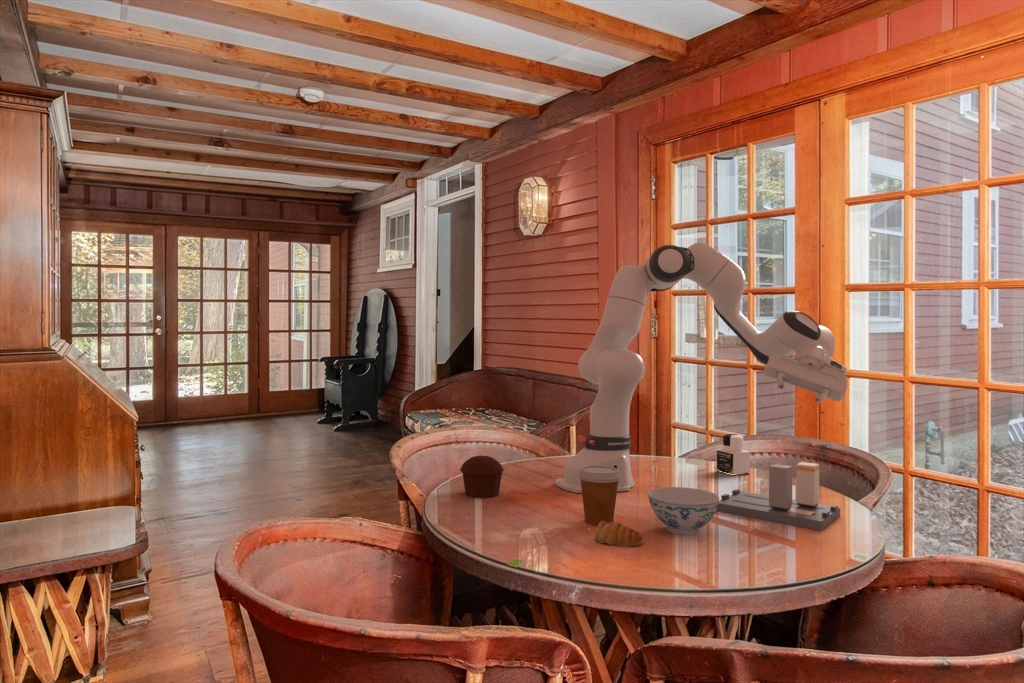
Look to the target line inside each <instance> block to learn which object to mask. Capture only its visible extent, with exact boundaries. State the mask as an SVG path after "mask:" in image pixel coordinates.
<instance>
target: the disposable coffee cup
mask: <svg viewBox="0 0 1024 683" xmlns="http://www.w3.org/2000/svg"><path fill="white" fill-rule="evenodd" d="M578 475H579V476H580V479H581V488H582V493H581V495H582V496H581V498H582V505H583V513H584V522H585V523H586V524H588V525H592V526H595V527H597V526H598V524H599V522H601V521H604V522H607V523H611V522H614V518H615V509H616V503H617V494H618V491H617V488H618V481H619V479H620V477H621V475H620V474H619V470H618V469H617V468H614V467H609V466H585V467H582V468H581V469H580V473H579V474H578Z"/></svg>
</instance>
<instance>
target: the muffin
mask: <svg viewBox="0 0 1024 683" xmlns="http://www.w3.org/2000/svg"><path fill="white" fill-rule="evenodd" d="M504 470H505V469H504V468H503V466H502V464H501V463H500V462H499V461H498V460H497V459H496V458H494V457H492V456H489V455H476V456H475V455H474V456H471V457H470V458H468V459H466V460H465V461H464V462H463V464H462V465H461V467H460V468H459V471H460V472H461V473H462V479H463V480H462V481H463V487H464V492H465V496H466V497H469V498H473V499H488V498H489V499H490V498H495V497H497V496H499V495H500V494H499V492H500V487H501V481H502V475H503V472H504Z"/></svg>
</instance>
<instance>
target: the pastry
mask: <svg viewBox="0 0 1024 683" xmlns="http://www.w3.org/2000/svg"><path fill="white" fill-rule="evenodd" d="M594 538H595V540H596V541H597V542H598V543H600V544H604V543H605V544H607V545H609V546H618V547H626V548H627V547H637V546H639V545H641V544H642V541H643V538H644V537H643V535H642V534H641V533H640V532H639V531H637V530H635V529H633V528H631V527H629V526H626V525H623V524H622V523H620V522H616V523H615V522H614V521H613V522H611V523H607V522H604V521H601V522H599V524H598V526H596V529H595V534H594Z"/></svg>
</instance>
